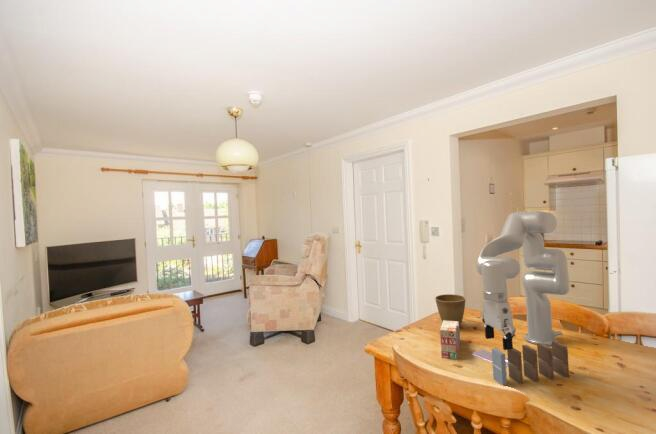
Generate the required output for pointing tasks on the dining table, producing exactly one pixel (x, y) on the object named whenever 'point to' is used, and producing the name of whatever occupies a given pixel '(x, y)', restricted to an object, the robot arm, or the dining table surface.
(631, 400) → the dining table surface
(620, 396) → the dining table surface
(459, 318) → the plant pot
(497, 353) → the domino
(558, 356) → the domino
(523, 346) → the domino
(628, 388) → the dining table surface
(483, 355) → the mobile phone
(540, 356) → the domino
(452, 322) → the colourful printed box
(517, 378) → the domino
